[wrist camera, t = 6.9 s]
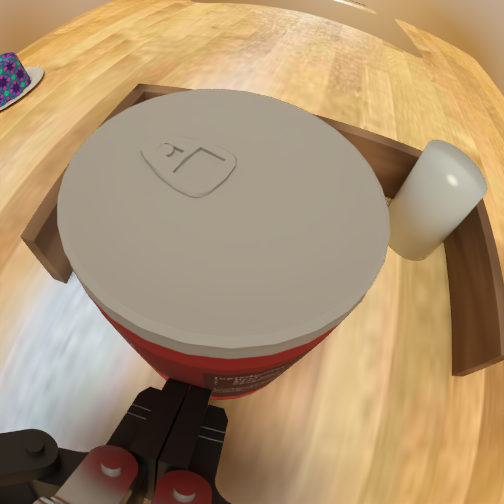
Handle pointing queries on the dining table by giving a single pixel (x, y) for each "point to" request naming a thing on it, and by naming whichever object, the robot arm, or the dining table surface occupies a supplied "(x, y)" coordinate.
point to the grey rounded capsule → (433, 200)
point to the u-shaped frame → (391, 179)
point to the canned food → (222, 233)
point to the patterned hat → (15, 78)
